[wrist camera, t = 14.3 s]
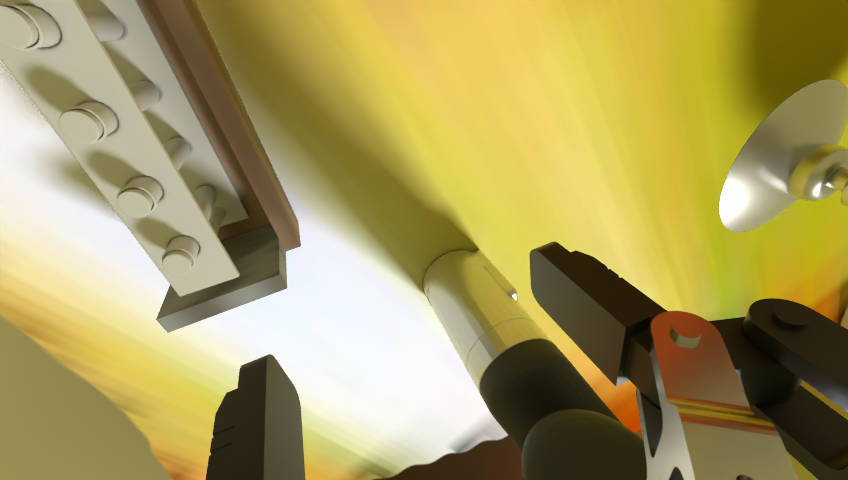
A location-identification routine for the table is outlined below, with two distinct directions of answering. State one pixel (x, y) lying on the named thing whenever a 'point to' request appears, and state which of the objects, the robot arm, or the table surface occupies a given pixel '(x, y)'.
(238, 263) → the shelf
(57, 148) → the table surface
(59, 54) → the long lego plate
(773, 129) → the desk lamp
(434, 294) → the robot arm
